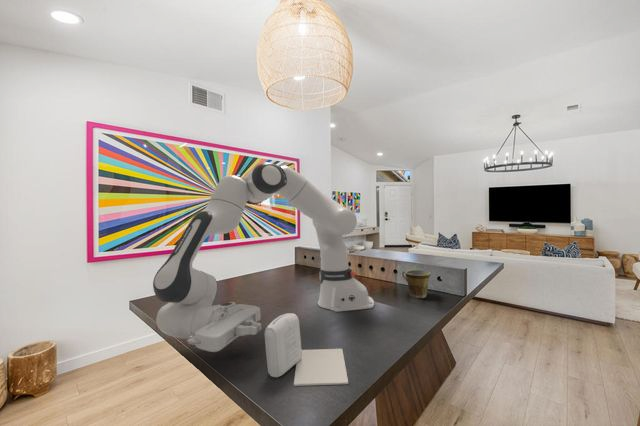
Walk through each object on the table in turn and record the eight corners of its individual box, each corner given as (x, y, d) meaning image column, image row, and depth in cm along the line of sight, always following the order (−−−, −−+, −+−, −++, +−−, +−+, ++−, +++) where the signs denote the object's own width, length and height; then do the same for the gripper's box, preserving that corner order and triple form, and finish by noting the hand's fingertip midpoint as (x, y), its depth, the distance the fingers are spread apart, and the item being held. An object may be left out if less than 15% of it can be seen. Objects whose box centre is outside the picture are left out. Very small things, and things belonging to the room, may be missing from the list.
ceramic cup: (435, 296, 121) (434, 272, 121) (420, 301, 115) (420, 276, 115) (410, 289, 132) (409, 267, 132) (395, 293, 126) (394, 271, 126)
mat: (342, 350, 78) (342, 348, 78) (348, 384, 63) (348, 382, 63) (298, 351, 78) (298, 350, 78) (293, 385, 63) (293, 384, 63)
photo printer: (291, 354, 76) (287, 308, 75) (304, 357, 73) (300, 309, 73) (265, 375, 67) (260, 323, 67) (279, 380, 65) (274, 326, 64)
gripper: (181, 328, 66) (233, 334, 61) (234, 299, 85) (276, 303, 81) (182, 355, 66) (234, 363, 62) (234, 320, 85) (276, 325, 81)
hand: (258, 329), depth 71 cm, fingers closed
